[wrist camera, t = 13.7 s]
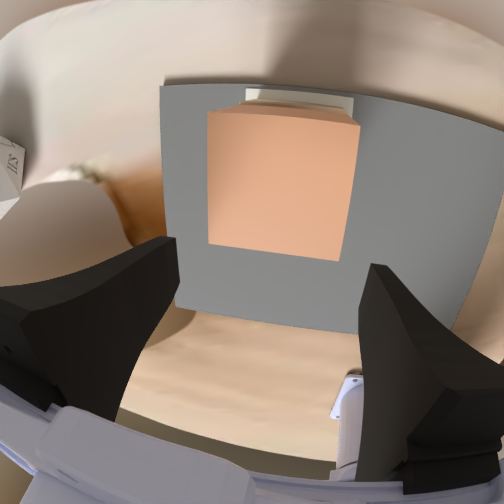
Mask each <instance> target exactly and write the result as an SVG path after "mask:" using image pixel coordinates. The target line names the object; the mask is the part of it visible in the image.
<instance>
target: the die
mask: <svg viewBox="0 0 504 504" xmlns="http://www.w3.org/2000/svg"><path fill="white" fill-rule="evenodd" d="M24 156H25V148H23V147H21V146H19V145H17V144H15V143H13V142H10V141H9V140H8V139H6V138H4V137H2V136H0V219H1V218H2V217H3V216H4V215H5V214H6V213H7V211H8V210H9V209H10V208H11V207H12V206H13V205H14V204H15V203H16V201H18V199H19V198H20V197H21V187H22V175H23V165H24Z"/></svg>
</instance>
